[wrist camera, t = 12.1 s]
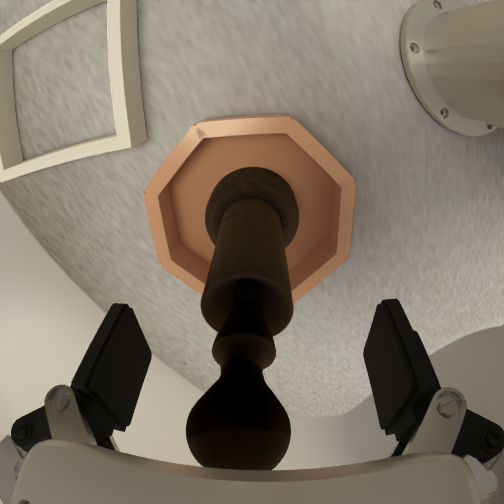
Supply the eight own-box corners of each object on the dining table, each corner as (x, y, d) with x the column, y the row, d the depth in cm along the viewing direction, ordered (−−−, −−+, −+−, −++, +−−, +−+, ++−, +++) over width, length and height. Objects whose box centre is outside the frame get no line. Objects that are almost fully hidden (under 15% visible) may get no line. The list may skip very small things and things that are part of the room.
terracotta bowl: (343, 114, 18) (358, 119, 15) (333, 276, 25) (342, 301, 22) (151, 126, 19) (133, 132, 16) (180, 281, 26) (171, 306, 23)
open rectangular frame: (136, -19, 12) (121, -31, 10) (147, 139, 20) (131, 147, 17) (6, 45, 13) (-14, 46, 11) (19, 172, 20) (0, 182, 18)
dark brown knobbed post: (279, 256, 23) (295, 495, 8) (201, 235, 23) (126, 471, 7) (308, 181, 20) (412, 432, 5) (221, 155, 19) (96, 392, 4)
